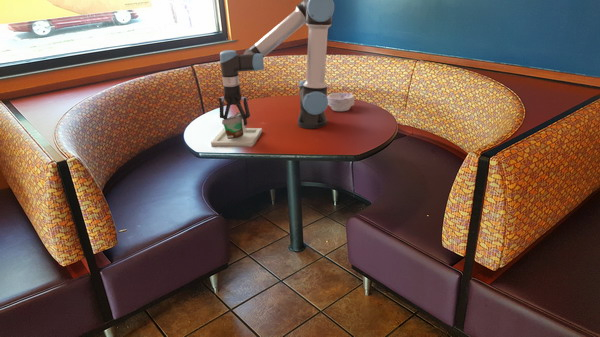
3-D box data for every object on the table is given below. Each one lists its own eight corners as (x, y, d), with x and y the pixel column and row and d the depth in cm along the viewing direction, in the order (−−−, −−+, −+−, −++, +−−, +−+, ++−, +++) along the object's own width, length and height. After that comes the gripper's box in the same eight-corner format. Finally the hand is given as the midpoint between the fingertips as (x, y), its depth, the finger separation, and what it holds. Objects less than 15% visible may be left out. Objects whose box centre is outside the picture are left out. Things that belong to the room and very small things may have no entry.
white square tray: (262, 131, 227) (261, 128, 226) (252, 146, 209) (252, 142, 208) (224, 131, 230) (223, 128, 230) (211, 146, 212) (210, 142, 212)
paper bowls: (354, 105, 261) (354, 91, 258) (353, 113, 248) (353, 99, 244) (328, 105, 264) (328, 92, 260) (326, 113, 250) (325, 99, 247)
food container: (236, 140, 212) (232, 120, 208) (225, 140, 215) (221, 120, 211) (251, 131, 222) (247, 112, 218) (240, 131, 225) (237, 111, 221)
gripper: (208, 87, 207) (214, 134, 216) (250, 86, 204) (254, 134, 213) (213, 83, 214) (219, 129, 223) (254, 82, 211) (258, 129, 220)
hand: (236, 131), depth 218 cm, fingers closed on food container, 7 cm apart
